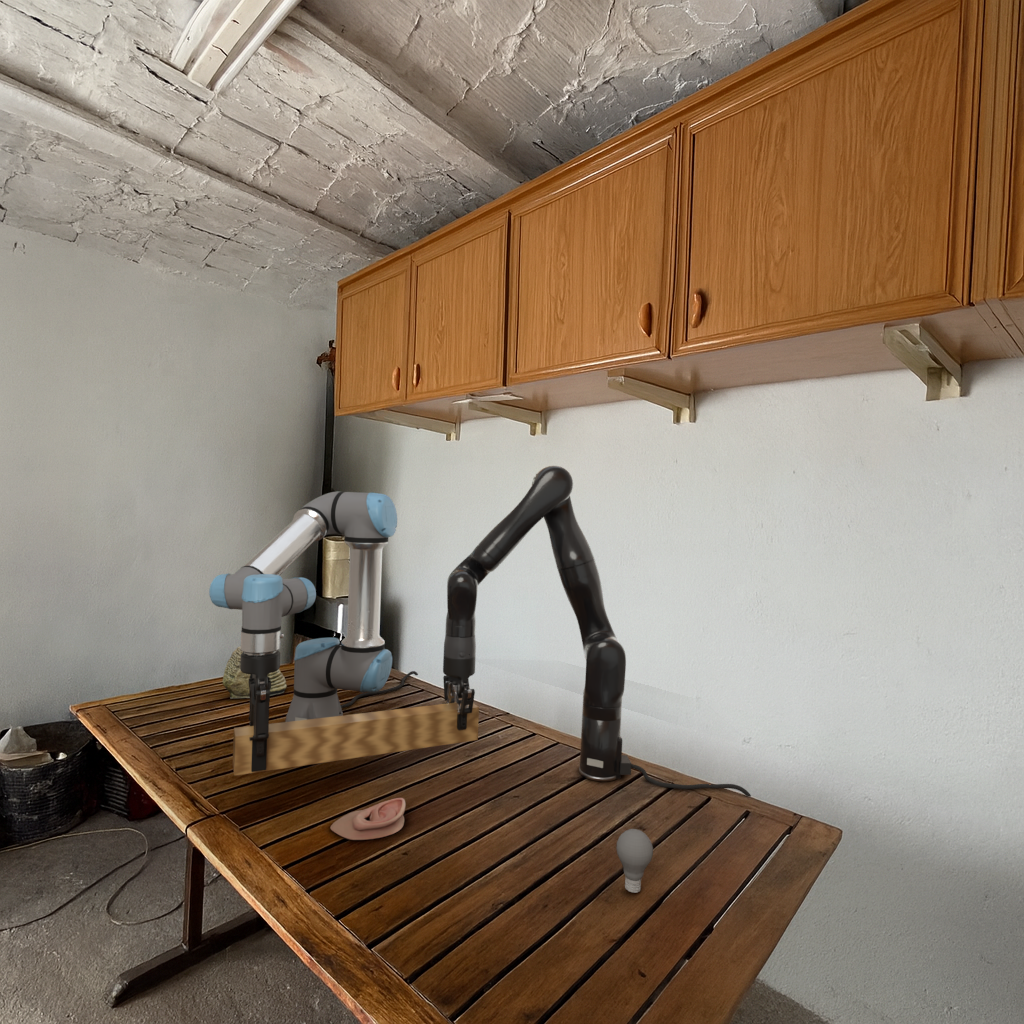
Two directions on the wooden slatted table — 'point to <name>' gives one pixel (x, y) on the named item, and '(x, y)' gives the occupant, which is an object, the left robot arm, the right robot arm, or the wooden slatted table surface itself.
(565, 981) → the wooden slatted table surface
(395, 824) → the anatomical model
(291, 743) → the post
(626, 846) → the light bulb
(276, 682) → the fossil
